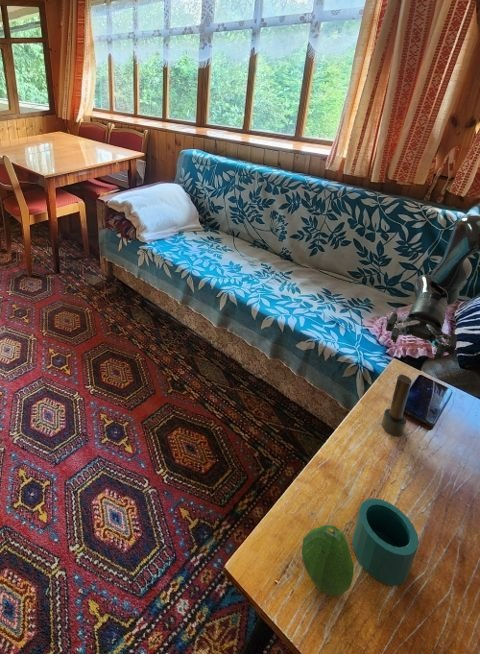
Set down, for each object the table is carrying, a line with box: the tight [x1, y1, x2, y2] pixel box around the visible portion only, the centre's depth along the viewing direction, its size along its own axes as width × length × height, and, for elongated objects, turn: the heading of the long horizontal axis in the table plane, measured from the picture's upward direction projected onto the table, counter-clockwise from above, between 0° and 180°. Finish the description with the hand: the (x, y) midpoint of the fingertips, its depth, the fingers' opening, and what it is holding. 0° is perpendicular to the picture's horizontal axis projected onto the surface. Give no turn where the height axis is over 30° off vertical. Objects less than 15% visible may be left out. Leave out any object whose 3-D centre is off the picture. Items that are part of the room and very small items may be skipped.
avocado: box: [301, 524, 355, 597], centre depth 64 cm, size 8×8×12 cm
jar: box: [352, 497, 420, 587], centre depth 67 cm, size 9×9×9 cm
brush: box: [381, 374, 413, 437], centre depth 88 cm, size 4×4×16 cm
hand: (415, 348), depth 92 cm, fingers open, 8 cm apart
